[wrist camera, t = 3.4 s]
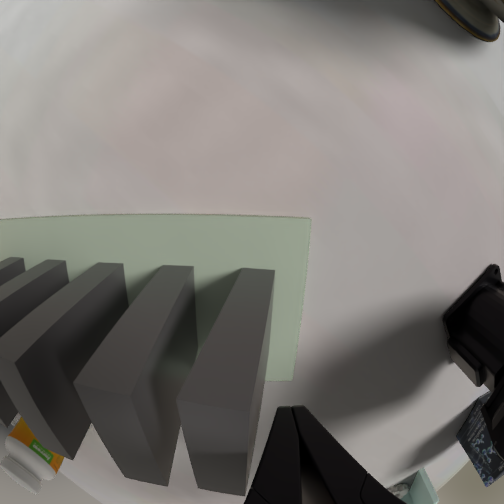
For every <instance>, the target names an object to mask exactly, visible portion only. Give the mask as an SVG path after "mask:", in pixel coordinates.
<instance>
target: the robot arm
mask: <svg viewBox="0 0 504 504" xmlns="http://www.w3.org/2000/svg"><path fill="white" fill-rule="evenodd" d="M443 323H444V326H445V329H446V333H447V336H448V339H447V345H448V348H449V352H450V355H451V359H452V360H453V361H454V362H455V363H456V364H457V366H458V367H459V368H460V369H461V370H462V371H463V372H464V373H465V374H466V375H467V377H468V378H469V379H470V380H471V381H472V382H473V383H474V384H475V386H476V387H480V386H481V385H482V384H483V383H484V385H485V386H486V387H487V388H488V389H489V390H490V391H491V392H492V394H491V395H490V397H489V398H488V400H487V401H486V402H485V403H484V404H483V405H482V407H481V408H480V411H481V413H482V416H483V418H484V421H485V424H486V427H487V429H488V432H489V435H490V438H491V441H492V444H493V447H494V450H495V452H496V454H497V456H498V457H499V458H500V459H501V460H502V461H503V462H504V282H502V280H501V273H500V268H499V266H498V265H496V264H493V265H492V266H491V267H490V268H489V269H488V271H487V272H486V273H485V274H484V275H483V276H482V277H481V278H480V280H479V281H478V282H477V283H476V284H475V285H474V286H473V287H472V288H471V289H470V290H469V291H468V292H467V293H466V294H465V295H464V296H463V298H462V299H461V300H460V301H459V302H457V303H456V304H455V305H454V306H453V307H452V308H451V309H450V310H449V311H448V312H447V313H446V314H445V316H444V318H443ZM244 504H407V503H405V502H404V501H402V500H401V499H399V498H398V497H397V496H395V495H394V494H392V493H391V492H390V491H388V490H387V489H386V488H385V487H383V486H382V485H381V484H380V483H379V482H378V481H377V480H376V479H375V478H373V477H372V476H371V475H370V474H369V473H367V471H366V470H365V469H364V468H363V467H362V466H361V465H360V464H359V463H358V462H357V461H356V460H355V459H354V458H353V457H352V456H351V455H350V454H349V453H348V452H347V451H346V450H345V449H344V448H343V447H342V446H341V445H340V444H339V443H338V442H337V441H336V439H335V438H334V437H333V436H332V435H331V434H330V433H329V432H328V431H327V430H326V429H325V428H324V427H323V426H322V425H321V424H320V422H319V421H318V420H317V419H316V418H315V417H314V416H313V415H312V414H311V413H310V412H309V410H308V409H307V408H306V407H305V406H303V405H299V406H292V407H290V406H280V407H278V408H277V411H276V414H275V417H274V421H273V424H272V427H271V430H270V433H269V436H268V439H267V442H266V445H265V448H264V451H263V454H262V457H261V460H260V463H259V466H258V468H257V471H256V474H255V477H254V479H253V482H252V485H251V489H250V490H249V492H248V495H247V497H246V500H245V502H244Z"/></svg>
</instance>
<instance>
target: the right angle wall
mask: <svg viewBox="0 0 504 504" xmlns="http://www.w3.org/2000/svg"><path fill="white" fill-rule="evenodd" d="M405 485H406V486H405ZM407 486H408V485H407V484H403V485H402V484H400V485H397V486H392V487H390V488H389V489H387V490H388V491H390V492H391V493H392V494H394V495H395V496H397V497H398V498H399V499H401V500H402V501H404V502H405V503H407V504H437V503H438V502H439V498H438V496H437V494H436V492H435V489H434V487H433V485H432V483H431V481H430V479H429V477H428V475H427V473H426V471H425V469H424V468H422V469H420V470H418V473H417V475H416V477H415V479H414V482H413V484H412V486H411V488H410V490H408V488H406V487H407ZM408 491H409V492H408Z"/></svg>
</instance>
